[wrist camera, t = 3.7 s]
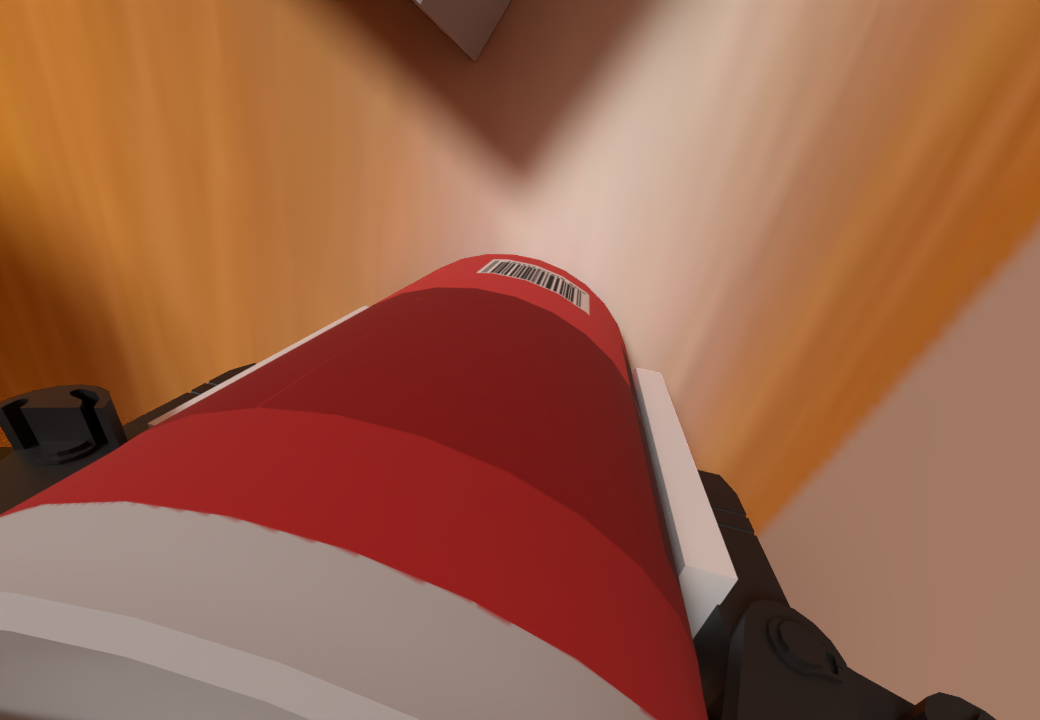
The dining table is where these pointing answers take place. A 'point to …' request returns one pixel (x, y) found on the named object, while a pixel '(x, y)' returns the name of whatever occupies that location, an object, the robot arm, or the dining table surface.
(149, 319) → the dining table surface
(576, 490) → the canned food
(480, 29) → the tray
